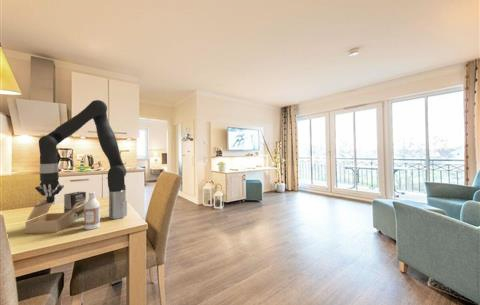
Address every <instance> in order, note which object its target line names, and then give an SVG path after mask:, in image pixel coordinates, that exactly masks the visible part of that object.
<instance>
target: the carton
mask: <svg viewBox="0 0 480 305" xmlns="http://www.w3.org/2000/svg"><path fill="white" fill-rule="evenodd" d="M65 214H66V213H64V212H51V213H46V214H43V215H41V216H38V217H36V218H33V219H31V220H27V221H25V234H27V235H28V234H32V235H33V234H47V233H58V232H60V231H61V230H63V229H65V228H67V227H69V226H70V225H72V224H74V223H75V220H74V213H72V214H70V215H67V216H65V217H63V218H61V219H59V218H60V217H62V216H63V215H65Z"/></svg>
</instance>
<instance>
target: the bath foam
mask: <svg viewBox="0 0 480 305" xmlns="http://www.w3.org/2000/svg"><path fill="white" fill-rule="evenodd" d="M83 218H84V221H83V222H84V229H85V230H89V231H90V230H95V229H97V228H100V226H101V205H100V202H99V201H98V199H97V198H96V191H90V192H88V200H87V201H86V204H85V208H84V217H83Z"/></svg>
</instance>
